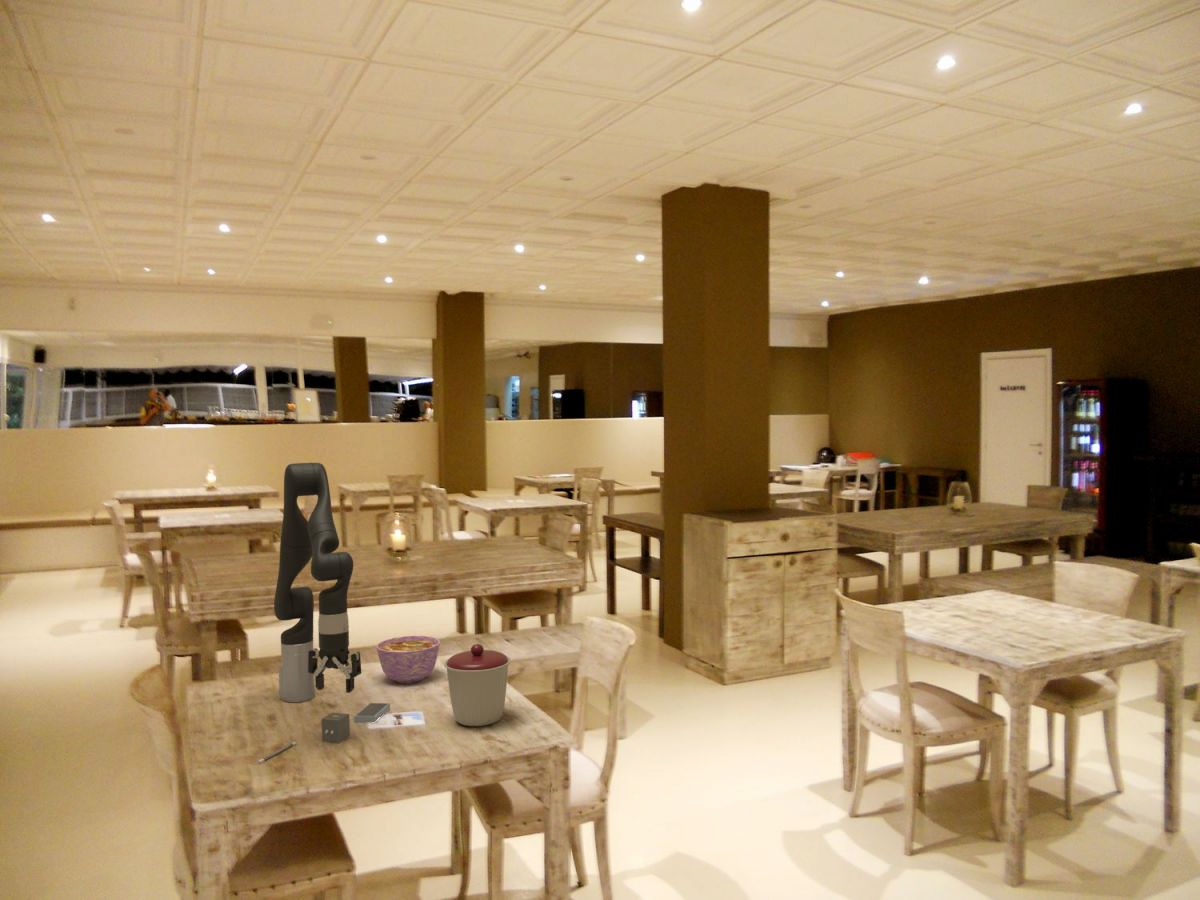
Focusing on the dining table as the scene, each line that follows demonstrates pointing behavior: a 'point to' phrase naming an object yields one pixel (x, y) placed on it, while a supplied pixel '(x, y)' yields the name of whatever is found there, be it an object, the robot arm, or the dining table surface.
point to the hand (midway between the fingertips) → (335, 690)
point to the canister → (477, 685)
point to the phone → (371, 712)
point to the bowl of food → (408, 657)
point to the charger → (335, 727)
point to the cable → (277, 752)
